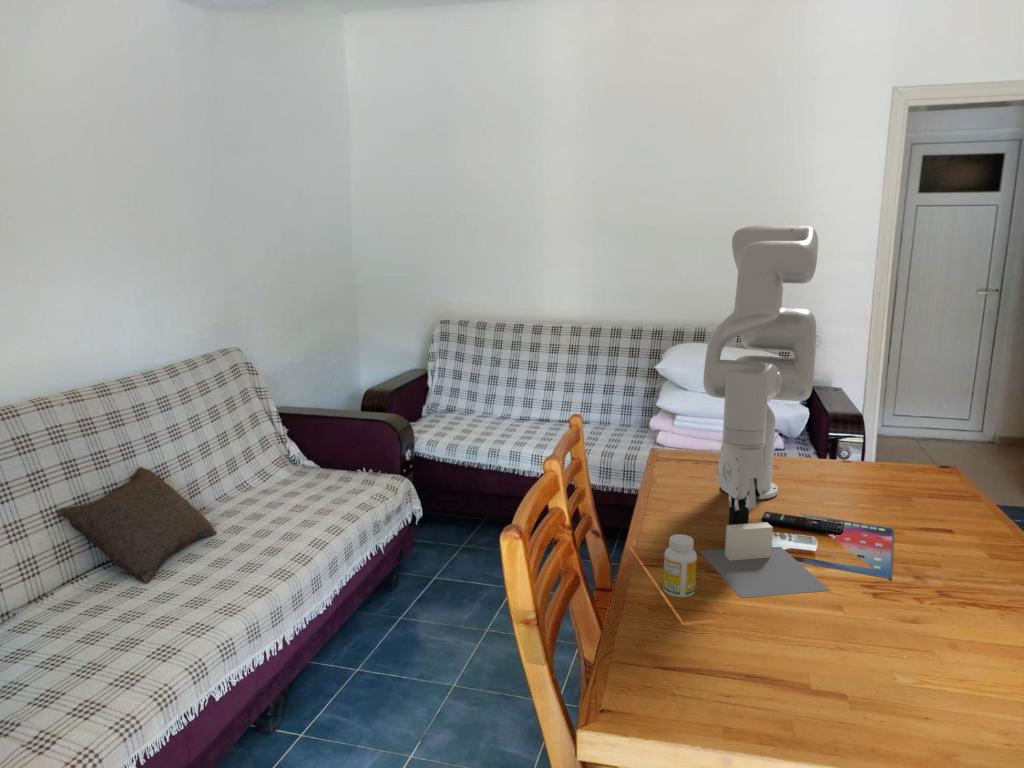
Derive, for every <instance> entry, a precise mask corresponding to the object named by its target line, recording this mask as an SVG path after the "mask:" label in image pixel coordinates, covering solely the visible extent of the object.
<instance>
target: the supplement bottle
mask: <svg viewBox="0 0 1024 768" xmlns="http://www.w3.org/2000/svg"><path fill="white" fill-rule="evenodd" d="M668 540H669V541H668V545H669V547H668V548H666V549H665V551H664V557H663V558H664V559H663V560H664V562H663V579H662V580H663V582H662V589H663V591H664V592H665V594H668V595H669V596H671V597H677V598H687V597H690V596H693V595H694V594H695V592H696V581H697V580H696V578H697V559H698V554H697V551H695V549H694V546H695V545H694V543H695V542H694V538H693V537H691V536H690V535H688V534H687V535H686V534H683V533H682V534H673V535H671V536H670V537H669V538H668Z"/></svg>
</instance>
